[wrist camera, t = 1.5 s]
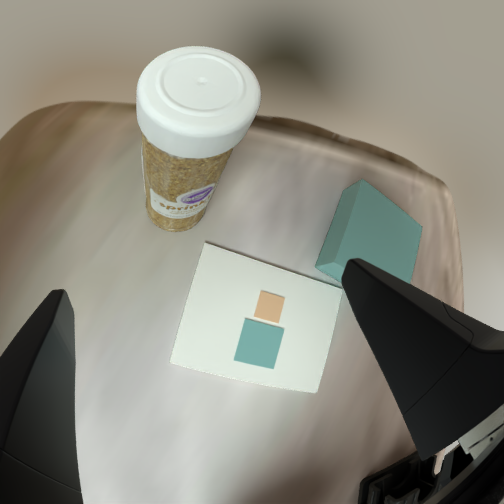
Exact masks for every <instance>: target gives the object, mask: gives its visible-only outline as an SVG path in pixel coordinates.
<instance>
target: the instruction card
mask: <svg viewBox="0 0 504 504" xmlns="http://www.w3.org/2000/svg"><path fill="white" fill-rule="evenodd" d="M342 291H343V289H340V288H337V287H334V286H331V285H328V284H325V283H322V282H319V281H316V280H313V279H310V278H307V277H304V276H301V275H298V274H296V273H293V272H290V271H287V270H284V269H281V268H278V267H275V266H272V265H269V264H266V263H263V262H260V261H257V260H254V259H251V258H248V257H245V256H242V255H240V254H237V253H234V252H231V251H228V250H225V249H222V248H219V247H216V246H213V245H210V244H207V243H204V246H203V249H202V252H201V255H200V258H199V262H198V265H197V268H196V271H195V274H194V278H193V281H192V284H191V288H190V291H189V294H188V298H187V301H186V304H185V308H184V311H183V315H182V318H181V322H180V325H179V329H178V332H177V336H176V339H175V343H174V347H173V350H172V354H171V358H170V361H169V363H172V364H176V365H179V366H183V367H186V368H190V369H194V370H198V371H202V372H206V373H210V374H214V375H218V376H222V377H227V378H231V379H236V380H240V381H245V382H250V383H255V384H261V385H266V386H271V387H277V388H283V389H289V390H296V391H303V392H310V393H317V391H318V387H319V384H320V380H321V377H322V373H323V370H324V366H325V362H326V359H327V355H328V351H329V347H330V343H331V339H332V335H333V331H334V327H335V323H336V318H337V314H338V309H339V305H340V300H341V295H342Z"/></svg>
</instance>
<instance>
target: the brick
mask: <svg viewBox="0 0 504 504" xmlns="http://www.w3.org/2000/svg"><path fill="white" fill-rule="evenodd" d="M421 232H422V226H421V225H420V224H418V223H417V222H416V221H415V220H414V219H413V218H411V217H410V216H409V215H408V214H407V213H405V212H404V211H403V210H402V209H401V208H399V207H398V206H397V205H396V204H394V203H393V202H392V201H391V200H389V199H388V198H387V197H386V196H384V195H383V194H382V193H380V192H379V191H378V190H377V189H375V188H374V187H373V186H371V185H370V184H369V183H367V182H366V181H365V180H363V179H361V180H359V181H358V182H356V183H355V184H353V185H351V186H350V187H348V188H347V189H345V190H343V193H342V196H341V199H340V202H339V204H338V207H337V210H336V213H335V215H334V218H333V221H332V224H331V226H330V229H329V232H328V234H327V237H326V240H325V242H324V245H323V247H322V250H321V253H320V255H319V258H318V260H317V263H316V265H315V268H317V269H319V270H320V271H322V272H324V273H326V274H327V275H329V276H331V277H332V278H334V279H336V280H338V281H339V282H341V277H342V274H343V271H344V269H345V266H346V263H347V261H348V260H349V259H352V258H361V259H363V260H365V261H367V262H369V263H371V264H373V265H375V266H377V267H379V268H380V269H382V270H384V271H386V272H388V273H390V274H392V275H394V276H396V277H398V278H399V279H401V280H403V281H405V282H407V283H409V284H410V281H411V277H412V273H413V269H414V265H415V260H416V256H417V251H418V247H419V242H420V237H421ZM341 283H342V282H341Z"/></svg>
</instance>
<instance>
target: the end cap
mask: <svg viewBox="0 0 504 504" xmlns="http://www.w3.org/2000/svg"><path fill="white" fill-rule="evenodd" d="M436 458H437V456H436V455H433V456H431V457H429V458H428V459H426V460H424V461H422V460H421V458H420V456H419V454H418V451H416V452H414V453H412V454H411V455H409V456H407V457H406V458H404V459H402V460H400V461H398V462H396V463H395V464H393V465H391V466H389V467H387V468H385V469H383V470H381V471H379V472H377V473H375V474H373V475H371V476H369V477H367V478H365V479H363V480H362V481H361V483H360V489H359V497H358V504H424V503H425V502H426V501H428V500H429V499H430V498H431V497H433V496H434V495H435V494H437V493H438V492H439V491H440V490H441V489H443V487H442V485H441V483H440V478H441V473H442V468H443V463H444V460H443V462H442V466H441V470H440V472H439V473H438V474H436V475H435V474H434V468H435V463H436Z"/></svg>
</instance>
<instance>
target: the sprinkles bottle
mask: <svg viewBox="0 0 504 504" xmlns="http://www.w3.org/2000/svg"><path fill="white" fill-rule="evenodd" d="M260 102H261V89H260V85H259V83H258V80H257V78H256V76H255V75H254V73H253V72H252V71H251V69H250V68H249V67H248V66H247V65H246V64H244V63H243V62H242V61H241V60H240V59H238V58H237V57H235V56H233V55H231V54H229V53H227V52H225V51H222V50H218V49H215V48H210V47H203V46H189V47H182V48H177V49H173V50H170V51H168V52H166V53H164V54H162V55H160V56H158V57H157V58H155V59H154V60H153V61H152V62H151V63H149V65H147V67H146V68H145V69H144V71H143V72H142V74H141V76H140V78H139V81H138V85H137V120H138V124H139V126H140V128H141V130H142V148H141V158H142V170H143V180H144V189H145V194H146V196H147V197H146V209H147V213H148V216H149V218H150V219H151V220H152V221H153V223H154V224H156V225H157V226H159V227H160V228H162V229H163V230H167V231H171V232H177V231H185V230H188V229H190V228H192V227H193V226H194V225H196V224H197V223H198V222H199V221H200V219H201V218H202V216H203V214H204V212H205V208H206V205H207V204H208V202H209V200H210V198H211V196H212V194H213V192H214V190H215V188H216V186H217V184H218V181H219V179H220V175H221V173H222V171H223V169H224V167H225V165H226V163H227V160H228V158H229V157H230V154H231V152H232V150H233V148H234V146H235V145H237V144H238V143H239V142H240V141H241V140H242V139H243V137H244V136H245V134H246V133H247V131H248V129H249V127H250V125H251V124H252V122H253V120H254V118H255V116H256V114H257V112H258V109H259V107H260Z"/></svg>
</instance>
